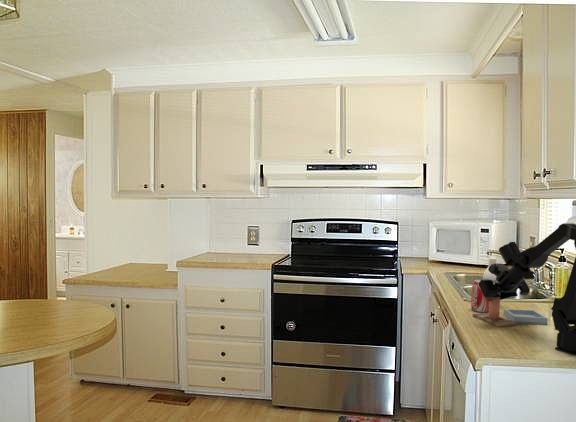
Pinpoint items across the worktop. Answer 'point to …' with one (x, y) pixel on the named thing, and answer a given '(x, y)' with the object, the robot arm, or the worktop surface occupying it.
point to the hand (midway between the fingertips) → (492, 299)
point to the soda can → (478, 298)
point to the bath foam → (487, 274)
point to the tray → (525, 316)
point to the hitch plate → (497, 323)
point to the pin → (494, 309)
